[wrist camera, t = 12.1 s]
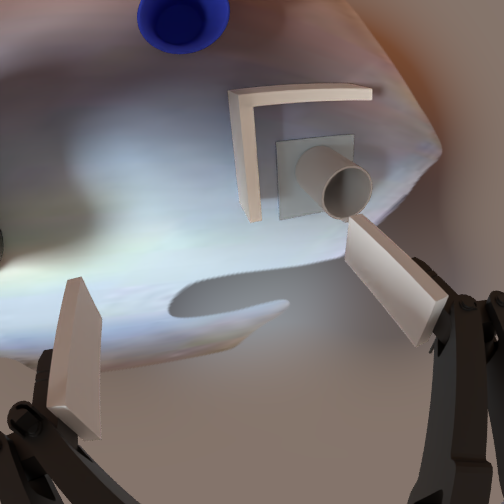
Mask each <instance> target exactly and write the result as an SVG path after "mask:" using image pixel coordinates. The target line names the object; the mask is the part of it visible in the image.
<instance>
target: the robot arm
mask: <svg viewBox="0 0 504 504" xmlns="http://www.w3.org/2000/svg"><path fill="white" fill-rule="evenodd" d="M2 254H3V239H2V234H1V230H0V261H1V258H2ZM344 260H345V262H346V263H347V264H348V265H349V266H350V267H351V268H352V269H353V271H354V272H355V273H356V274H357V276H358V277H359V278H360V279H361V280H362V281H363V283H364V284H365V285H366V286H367V288H368V289H369V290H370V291H371V292H372V294H373V295H374V296H375V297H376V298H377V300H378V301H379V302H380V303H381V305H382V306H383V307H384V308H385V309H386V311H387V312H388V313H389V314H390V316H391V317H392V318H393V319H394V321H395V322H396V323H397V324H398V326H399V327H400V328H401V329H402V331H403V332H404V333H405V335H406V336H407V337H408V338H409V340H410V341H411V342H412V344H413V345H414V346H415V347H417V346H420V345H421V344H424V343H425V342H427V341H428V340H429V338H430V336H431V334H432V332H433V333H434V334H435V335H436V339H435V341H434V343H433V345H432V347H431V348H430V351H429V353H432V351H433V349H434V365H433V381H432V392H431V402H430V403H431V404H430V411H429V419H428V427H427V433H426V440H425V447H424V452H423V457H422V463H421V468H420V472H419V477H418V480H417V482H416V484H415V486H414V487H413V489H412V491H411V493H410V496H409V500H408V503H407V504H488V503H489V498H490V491H491V483H492V475H493V467H492V465H491V463H489V462H488V461H486V443H487V417H488V412H489V416H490V422H491V427H492V433H493V439H494V445H495V451H496V459H497V465H498V466H497V467H498V475H499V481H500V486H501V490H502V494H503V497H504V293H503V292H501V291H493V292H491V293H490V295H489V297H488V299H487V300H482V301H476V300H475V299H474V298H472V297H471V296H468V295H463V294H461V295H458V294H457V293H456V292H455V291H454V290H453V289H452V288H451V287H450V286H449V285H448V284H447V283H445V281H443V279H442V278H440V277H439V276H437V274H436V273H435V272H434V271H432V269H431V268H430V267H429V266H428V265H427V264H426V263H425V262H423V261H421V260H419V259H418V258H416V257H414V258H410V257H409V256H408V255H407V254H406V253H405V252H404V251H403V250H402V249H401V248H399V247H398V246H397V245H396V244H395V243H394V242H393V241H392V240H391V239H390V238H389V237H387V236H386V235H385V234H384V233H383V232H382V231H381V230H380V229H379V228H377V227H376V226H375V225H374V224H373V223H372V222H371V221H370V220H368V219H367V218H366V217H365V216H364V215H363V214H358V215H354V216H349V225H348V234H347V243H346V251H345V259H344ZM101 331H102V317H101V315H100V313H99V312H98V310H97V308H96V306H95V304H94V302H93V300H92V298H91V295H90V293H89V291H88V289H87V287H86V285H85V283H84V281H83V279H82V277H78V278H74V279H70V280H67V284H66V288H65V292H64V296H63V301H62V305H61V310H60V315H59V320H58V325H57V330H56V336H55V342H54V348H53V349H49V350H44V351H43V353H42V355H41V357H40V359H39V361H38V366H37V374H36V379H35V380H36V382H35V386H34V393H33V402H32V404H31V403H30V402H27V401H20V402H17V403H16V404H14V405H13V406H12V408H11V409H10V411H9V414H8V417H7V423H8V426H9V428H10V429H11V430H12V431H14V433H11V434H9V435H5V434H3V433H2V432H1V431H0V501H1V504H64V503H63V501H62V499H61V497H60V495H59V493H58V491H57V489H56V487H55V485H54V483H55V484H56V485H57V486H58V488H59V489H60V490H61V491H62V492H63V494H64V495H65V496H66V497H67V498H68V500H69V501H70V502H71V503H72V504H140V503H139V502H138V501H136V500H135V499H134V498H133V497H132V496H131V495H129V494H128V493H127V492H126V491H125V490H124V489H123V488H122V487H120V486H119V485H118V484H117V483H116V482H115V481H114V480H113V479H112V478H111V477H110V476H109V475H108V474H107V473H106V472H105V471H104V470H103V469H102V468H101V467H100V466H99V465H98V464H97V463H96V462H95V461H94V460H93V459H92V458H91V457H90V456H89V455H88V454H87V453H86V452H85V451H84V450H83V448H82V447H81V446H80V445H78V436H79V437H80V438H82V439H83V440H84V441H93V440H102V436H101V417H100V416H101V415H100V353H101ZM496 334H497V336H498V341H497V340H496V338H495V336H496ZM52 480H53V481H54V483H53V482H52ZM501 504H504V502H502V503H501Z"/></svg>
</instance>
